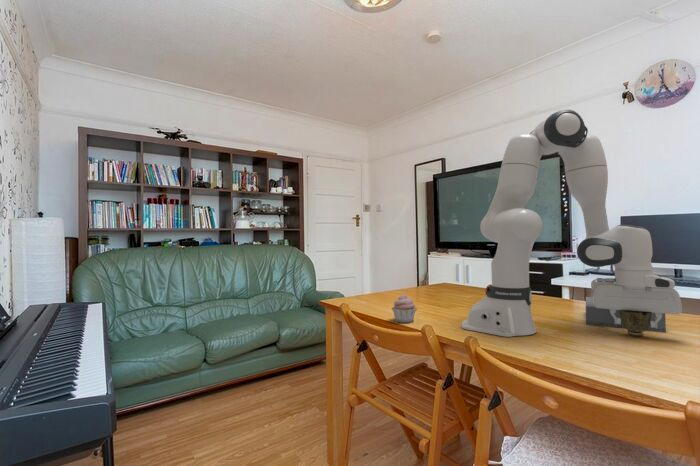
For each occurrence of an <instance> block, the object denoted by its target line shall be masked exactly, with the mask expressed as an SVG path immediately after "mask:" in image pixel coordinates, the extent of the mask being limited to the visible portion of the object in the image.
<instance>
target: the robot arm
mask: <svg viewBox="0 0 700 466" xmlns="http://www.w3.org/2000/svg"><path fill="white" fill-rule="evenodd" d="M588 133H589V131H588V127H587V126H586V125H585V122H584V119H583V118H582V117H581V115H580V114H579V113H578V112H577V111H575V110H573V109H563V110H562V109H561V110H558V111H556V112H554V113H552V114H551V115H549V116H548V117H547V118H546V119H544V120H543V121H541V122H540V123H538V125H536V127H535V128H534V129H533V130H532V131H531V132H530V133H520V134H516V135H515V136H512V137H511V138H510V140H509V142H508V143H507V146H506V148H505V151H504V155H503V159H502V162H501V165H500V170H499V171H500V172H499V177H498V182H497V185H496V188H495V189H496V190H495V193H494V196H493V198H492V200H491V203H490V205H489V208H488V211H487V212H486V213H485V216H484V217H483V218H482V220H481V222H480V224H479V225H480V226H479V228H480V233H481V234H482V236H483V237H484V238H485V239H487V240H489V241H490V242H494V243H497V247H496V252H495V255H494V257H493V258H492V260H491V262H490V266H491V267H490V269H491V270H490V271H491V284H488V285H487V286H486V287H485V289H484V290H485V291H484V292H485V297H483V298H481V299H480V300H479V301H477V302H476V303H475V304H474V305H472V306H471V307H470V310H469V312H468V317H467V319H464V320H462V322H461V325H460V326H461V328H462V329H463V330H466V331H473V332H478V333H484V334H488V335H494V336H500V337H506V338H511V337H512V338H513V337H517V336H530V335H534V334H535V333H537V329H536V326H535V322H534V319H533V313H532V306H531V305H532V302H533V299H532V296H533V295H532V287H531V286H530V258H531V254H532V250H533V247H534V244H535V242H536V240H537V239H538V238H539V237H540V236H541V233H542V231H543V220H542V218H541V216H540V215H539V213H537V212H536V211H534V210H532V209H527V208H525V207H526V205H527V203H528V202H529V200H530V199H531V198H532V197H533V196H534V193H535V189H536V184H537V179H538V173H539V169H540V161H541V158H544V157H545V158H546V157H549V156H552V155H555V154H556V153H557V154H558V155H559V156H560V157H561V158H562V160H563V161H562V162H563V163H564V173H565V180H566V181H565V182H566V185H567V187H568V190H569V192H570V194H571V196H572V197H573V198H574V200H576V201H577V203H578V205H579V206H580V208H581V211H582V215H583V220H584V228H585V234H586V236H585V239H583V240H582V241H580V243H579V244H578V246H577V248H576V249H577V250H576V255H577V258H578V259H579V261H580V262H581V263H583V265H587V266H589V267H592V268H602V267H603V268H604V267H606V266H613V267H614V278H613V277H611V278H610V277H609V278H608V277H605V278H604V277H598V278H596V279H593V280H592V281H591V283H590V287H591V288H590V289H591V291H592V292H593V295H592V297H593V305H594V306H595V307H596V308H601V309H610V313H611V315H612V316H613V318H614V320H615V324H616V325H621V318H617V317H616V315H615V314H614V313H616V310H627V311H639V312H652V313H654V315H655V316H656V318H655V319H654V320H653V321H650V328H657V323H658V322H659V320H660V319H661V318H662V313H665V315H666V314H667V315H680V314H681V313H682V311H683V306H682V301H681V296H680V294H679V292H678V291H677V290H676V289H675V287H676V283H675V281H674V280H673V279H671V278H669V277H665V276H662V275H660V274H659V275H658V274H654V268H653V265H652V257H653V254H654V253H653V241H652V236H651V233H650V231H649V230H648V229H646V228H645V227H643V226H639V225H630V224H617V225H616V226H615V227H613V228H611V229H610V227H609V222H608V215H607V208H606V202H607V193H608V192H607V191H608V185H609V183H608V182H609V173H608V172H609V171H608V164H607V158H606V154H605V150H604V147H603V145H602V143H601V140H600V138H599V137H597V136H596V135H593V134H588Z"/></svg>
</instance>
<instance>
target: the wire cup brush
mask: <svg viewBox="0 0 700 466" xmlns="http://www.w3.org/2000/svg"><path fill="white" fill-rule="evenodd" d="M651 314H652V312H639V311H627V310H620V317H621V322H622V325H623V327H624V328H623V329H625V330H627V332H626V333H627V334H628V336H630V337H632V338H633V337H634V338H642V337H643V336H644V333H645V332H647V331H648V328H649V326H650V321H651Z"/></svg>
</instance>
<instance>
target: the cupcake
mask: <svg viewBox="0 0 700 466" xmlns="http://www.w3.org/2000/svg"><path fill="white" fill-rule="evenodd" d="M393 305H394V306H393V307H391V311H392V312H393V315H394V316H393V317H394V319H395V320H394V321H396V322H397V323H399V324H400V323H401V324H409V323H413V322H414V318H415V314H416V312H417V310H418V308H417V307H416V305H415V302H413V299H411V298H410V297H409V296H407V295H406V293H404V294H402V295H400V296H399V297H398V298H397V300H395V301H394V303H393Z"/></svg>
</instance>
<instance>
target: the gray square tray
mask: <svg viewBox="0 0 700 466" xmlns="http://www.w3.org/2000/svg"><path fill="white" fill-rule="evenodd" d="M614 314H615V315H616V317H617V318H621V317H620V310H616V313H614ZM655 318H656V316H655V315H654V313H652V314H651V321H653V320H654V319H655ZM585 322H586V325H589V326H590V325H591V326H598V327H599V326H602V327H611V328H622V329H625V328H624V327H623V325H622V322H621V325H616V324H615V320H614V318H613V316H612V315H611V313H610V309H601V308H596V307H595V306H594V305H593V296H585ZM666 326H667V323H666V314H665V313H662V318H661V319H660V320H659V322H658V323H657V328H650V326H649V328H648V330H647V331H649V332H660V333H667V330H666V329H667V328H666Z"/></svg>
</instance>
